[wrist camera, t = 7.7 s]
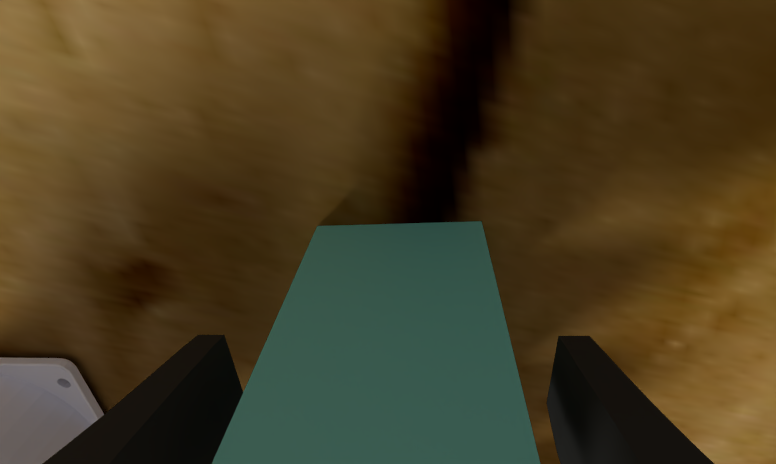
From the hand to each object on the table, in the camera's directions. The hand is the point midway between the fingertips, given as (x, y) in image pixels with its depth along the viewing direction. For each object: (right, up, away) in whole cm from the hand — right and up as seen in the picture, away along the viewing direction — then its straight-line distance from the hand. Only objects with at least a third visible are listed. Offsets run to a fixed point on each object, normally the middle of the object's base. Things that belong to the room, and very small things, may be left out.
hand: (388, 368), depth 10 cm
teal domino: (0, +2, +4) cm, 5 cm away
